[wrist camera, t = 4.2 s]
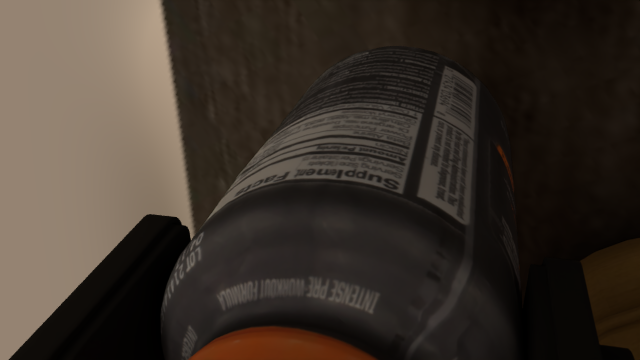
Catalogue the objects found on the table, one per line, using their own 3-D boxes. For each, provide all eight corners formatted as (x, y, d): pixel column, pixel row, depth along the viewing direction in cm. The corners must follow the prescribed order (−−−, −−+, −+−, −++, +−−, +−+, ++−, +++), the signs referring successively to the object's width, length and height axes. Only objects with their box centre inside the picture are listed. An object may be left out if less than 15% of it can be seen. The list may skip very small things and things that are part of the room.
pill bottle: (464, 265, 18) (429, 733, 9) (277, 199, 19) (45, 568, 9) (550, 82, 15) (647, 489, 5) (323, 10, 16) (50, 265, 6)
